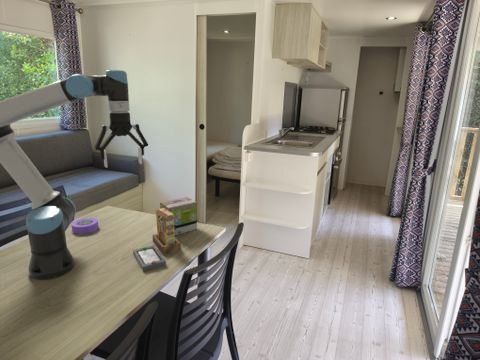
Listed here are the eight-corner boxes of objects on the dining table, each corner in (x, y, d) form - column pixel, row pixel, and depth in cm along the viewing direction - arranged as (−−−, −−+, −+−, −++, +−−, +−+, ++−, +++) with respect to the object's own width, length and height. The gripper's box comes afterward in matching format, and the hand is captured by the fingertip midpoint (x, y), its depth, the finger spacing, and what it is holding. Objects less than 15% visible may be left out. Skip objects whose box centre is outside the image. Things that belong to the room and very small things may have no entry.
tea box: (170, 238, 155) (169, 208, 151) (160, 230, 162) (159, 202, 158) (197, 229, 164) (197, 201, 160) (187, 223, 171) (186, 195, 167)
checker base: (143, 271, 127) (142, 265, 126) (133, 254, 139) (132, 248, 138) (166, 265, 131) (165, 259, 131) (154, 249, 144) (154, 243, 143)
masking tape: (74, 225, 166) (73, 218, 165) (99, 223, 169) (98, 216, 168) (70, 235, 155) (69, 228, 154) (97, 233, 158) (96, 225, 157)
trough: (162, 254, 139) (162, 247, 138) (152, 241, 150) (152, 234, 149) (180, 250, 143) (180, 243, 142) (169, 238, 154) (169, 231, 153)
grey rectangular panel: (145, 266, 129) (145, 264, 129) (138, 254, 138) (137, 251, 138) (160, 262, 132) (160, 260, 132) (152, 251, 141) (152, 248, 141)
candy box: (175, 246, 145) (174, 213, 140) (166, 249, 142) (165, 216, 138) (165, 239, 151) (164, 207, 147) (157, 241, 148) (155, 209, 144)
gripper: (85, 113, 120) (92, 170, 126) (154, 112, 132) (156, 163, 138) (83, 111, 126) (89, 166, 132) (148, 110, 139) (151, 160, 145)
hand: (123, 165), depth 135 cm, fingers open, 13 cm apart
